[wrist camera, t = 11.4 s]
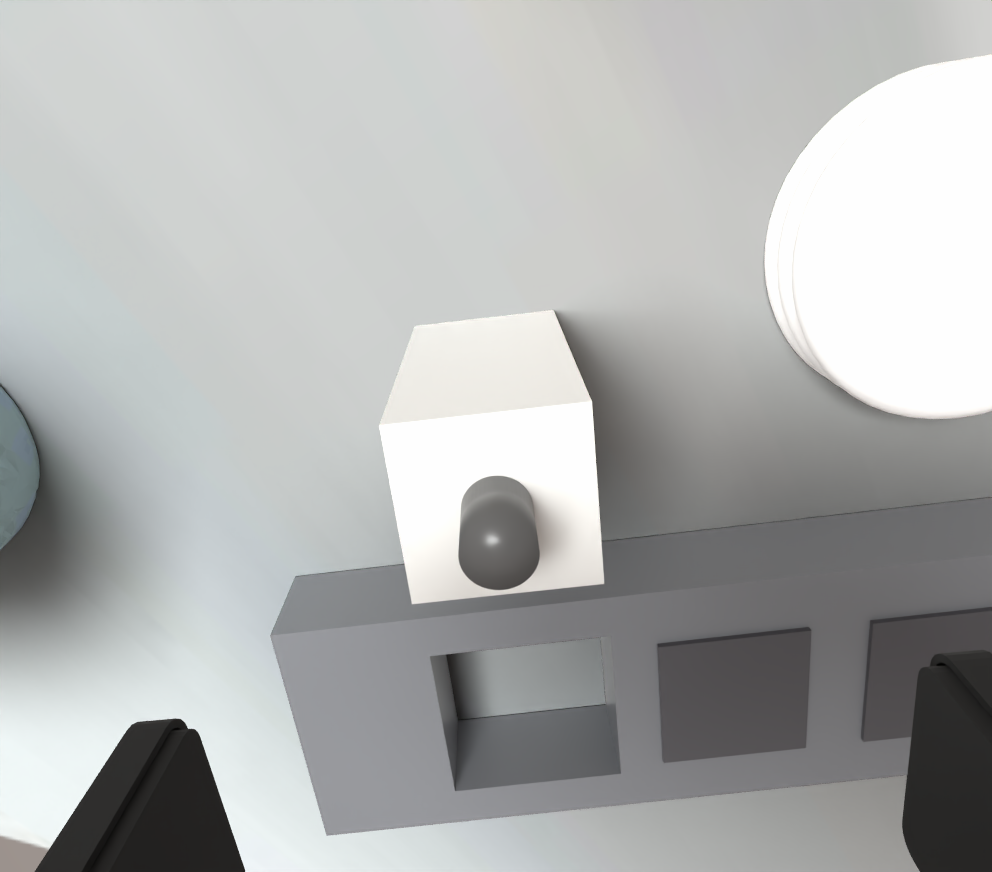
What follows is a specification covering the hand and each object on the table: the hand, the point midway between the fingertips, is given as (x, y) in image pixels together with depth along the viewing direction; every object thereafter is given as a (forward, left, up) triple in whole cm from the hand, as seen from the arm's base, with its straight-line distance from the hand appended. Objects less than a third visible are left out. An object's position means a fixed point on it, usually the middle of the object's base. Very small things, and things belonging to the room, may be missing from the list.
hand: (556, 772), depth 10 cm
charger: (+1, 0, -16) cm, 16 cm away
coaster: (-13, -3, -17) cm, 22 cm away
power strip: (-5, +11, -16) cm, 20 cm away
